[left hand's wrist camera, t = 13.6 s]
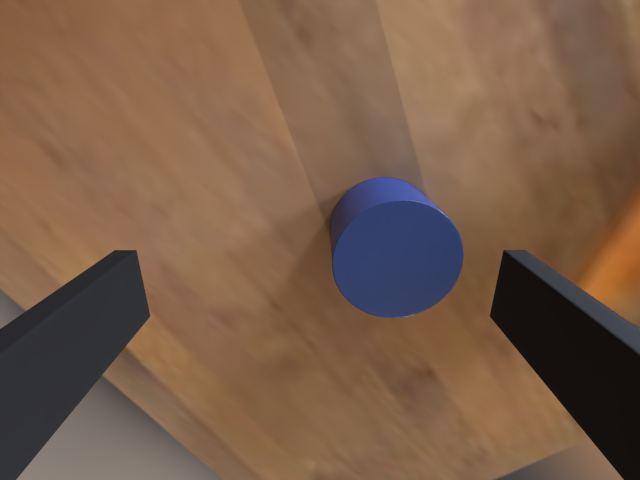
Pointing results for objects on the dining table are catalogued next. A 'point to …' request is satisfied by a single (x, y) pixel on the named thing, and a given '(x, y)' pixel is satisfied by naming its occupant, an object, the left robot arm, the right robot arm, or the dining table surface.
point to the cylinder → (393, 249)
